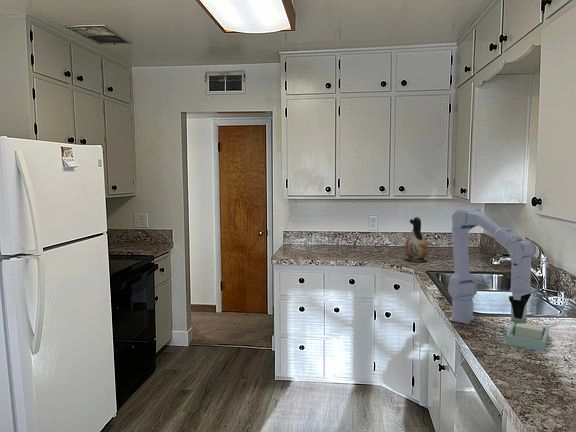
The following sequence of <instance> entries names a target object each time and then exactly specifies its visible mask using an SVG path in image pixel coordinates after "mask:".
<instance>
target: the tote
mask: <svg viewBox="0 0 576 432" xmlns="http://www.w3.org/2000/svg"><path fill="white" fill-rule="evenodd" d="M516 324H517V323H514V322H512V323H511V325H510V326H509V328H508V330H507V332H506V333H505V343H504V344H505V345H510V346H514V347H519V348H523V349H524V348H525V349H528V350H534V351H538V352H539V351H540V352H545V350H546V347H547V343H548V339H549V336H550V334H549V333H550V327H548V326H547V327H546V326H543V327H544V330H543V339H542V341H539V340H534V339H529V338H524V337H518V336H515V326H516Z"/></svg>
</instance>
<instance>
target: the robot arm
mask: <svg viewBox="0 0 576 432" xmlns="http://www.w3.org/2000/svg"><path fill="white" fill-rule="evenodd" d="M451 220H452V226H451V236H452V238H451V239H452V250H453V251H452V253H453V264H454V265H453V267H454V268H453V269H454V273H453V274H452V275H451V276H450V277H449V279H448V286H447V292H448V294H449V296H450V298H452V300H451V303H452V304H451V316H450V317H449V318H448V321H451V322H456V323H459V324H460V323H462V324H465V325H466V324H467V325H470V323H471V322H472V320H473V319H475V317H476V316H474V301H473V299H474V298H475V297H474V296H475V295H476V294H477V292H478V286H477V283H476V278H475V277H474V276H473V275H472V274H471V271H470V259H469V258H470V257H469V239H468V233H470V231H471V230H472V229H474V228H475V227H478V226H479V227H481V229H484V230H485V231H487V232H488V233H489V234H492V235H493V237H494V241H495V242H497V243H498V244H499V245H501V246H502V247H504V248H505V249H506V250H507V253H508V255H509V257H510V262H511V269H510V270H511V271H510V272H511V273H510V274H511V275H510V288H509V291H510V292H511V294H512V295H508V300H509V303H510V306H511V305H512V308H513V314H514V318H518V319H522V316H523V312H524V308H525V305H526V303H527V304H528V302H529V300H530V298H531V296H532V294H534V293H535V290H534V289H531V278H532V257H533V256H535V255H536V253H537V247H536V244H535V242H533V241H532V240H531V239H524V238H523V236H520V235H517V234H516V233H515V232H513V231H512V228H510V227H500V226H499V225H498V224H497V223H496V222H494V221H493V220H492V219H491V218H489V217H488V216H487V215H486V212H485V211H482V210H481V209H480V208H473V209H472V208H469V209H461V208H458V209H457V210H455V212H453V214H452V215H451Z"/></svg>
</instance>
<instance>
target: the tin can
mask: <svg viewBox="0 0 576 432" xmlns="http://www.w3.org/2000/svg"><path fill="white" fill-rule="evenodd" d="M527 319H528V302H527V303H526V305H525V308H524V312H523V316H522V319H518V318H514V314H513V308H512V305H511V304H510V321H511V322H512V323H513V322H514V323H520V324H524V323H526V324H528V323H527V322H528V320H527Z"/></svg>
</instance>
